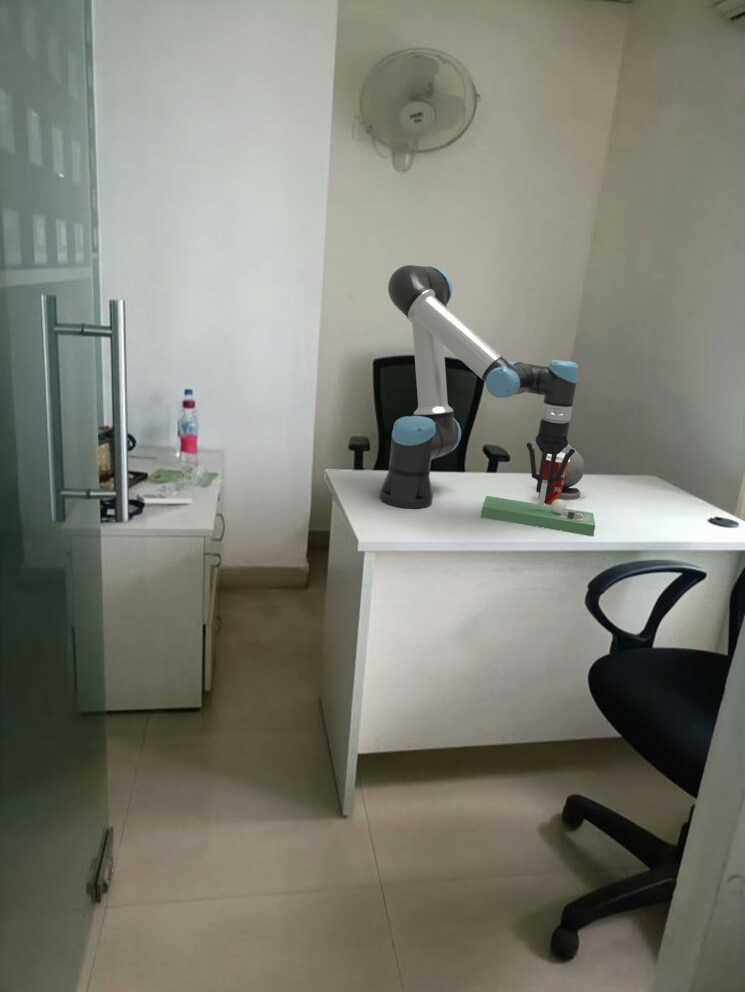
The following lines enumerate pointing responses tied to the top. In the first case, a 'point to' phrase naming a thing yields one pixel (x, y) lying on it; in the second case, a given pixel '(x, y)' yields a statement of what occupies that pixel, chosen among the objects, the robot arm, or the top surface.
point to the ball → (558, 506)
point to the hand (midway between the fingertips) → (541, 503)
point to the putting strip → (538, 515)
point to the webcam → (572, 476)
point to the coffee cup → (557, 486)
